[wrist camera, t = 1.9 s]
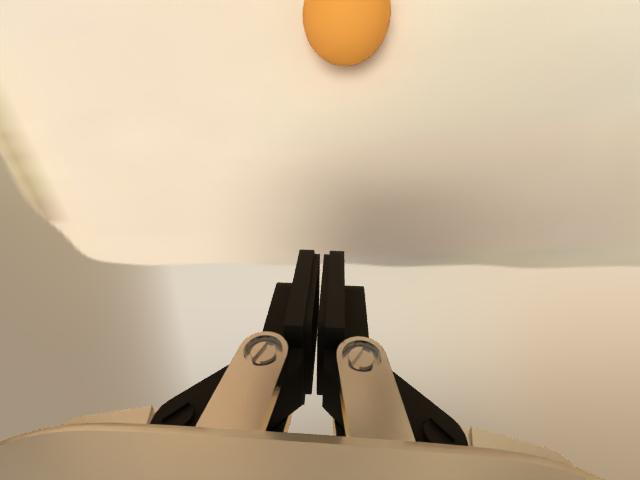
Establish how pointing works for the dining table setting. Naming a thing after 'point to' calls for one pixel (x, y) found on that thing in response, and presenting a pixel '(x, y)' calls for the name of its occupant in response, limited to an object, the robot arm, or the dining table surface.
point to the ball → (346, 28)
